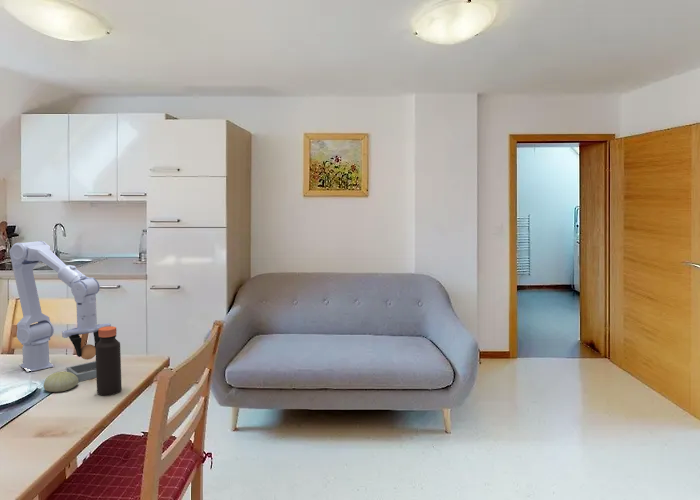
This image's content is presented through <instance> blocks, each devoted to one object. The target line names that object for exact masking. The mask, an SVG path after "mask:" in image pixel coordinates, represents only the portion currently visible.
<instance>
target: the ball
mask: <svg viewBox="0 0 700 500" xmlns="http://www.w3.org/2000/svg"><path fill="white" fill-rule="evenodd" d="M81 353H82V355H81V357H80V358H81V359H83V360H87V361H88V360H91V359H93V358H95V357H96V350H95V345H94V344H89V343H88V344H85V345H83V346H81Z"/></svg>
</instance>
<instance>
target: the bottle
mask: <svg viewBox="0 0 700 500" xmlns="http://www.w3.org/2000/svg"><path fill="white" fill-rule="evenodd" d="M98 335H99V338H100V341H99V342H98V343H97V344H96V346H95V345H94V346H95V350H96V355H95V361H96V369H95V370H96V393H97V394H98V395H99V396H104V397H105V396H111V395H115V394H118V393H120V392H121V391H122V388H123V387H122V365H121V364H122V359H121V358H122V357H121V355H122V354H121V342H120V341H119V340H117V339H116V337H117V327H116V326H112V325H111V326H108V327H102V328H99V329H98Z"/></svg>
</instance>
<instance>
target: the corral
mask: <svg viewBox="0 0 700 500" xmlns="http://www.w3.org/2000/svg"><path fill="white" fill-rule="evenodd" d="M65 369H66V372H71V373H73V374H74V375H76V376H77V378H78V383H80V382H84V381H87V380H92V379H95V378H96V379H97V377H96V360H93V361H89V362H85V363H81V364H76V365H71V366H67V367H66V368H65Z"/></svg>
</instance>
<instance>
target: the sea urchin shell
mask: <svg viewBox="0 0 700 500" xmlns="http://www.w3.org/2000/svg"><path fill="white" fill-rule="evenodd" d="M44 379H45V378H44ZM78 383H79V382H78V378H77V376H76V375H74V374H73V373H71V372H67V370H66V371H57V372H54V373H51V374H49V375H48V376H47V377H46V379H45V380H44V382H43V384H42V385H43V388H44V390H45V391H46V392H49V393H50V392H51V393H59V392H60V393H61V392H65V391H69V390H71V389H73V388H75V387H76V386H77V385H78Z"/></svg>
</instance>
